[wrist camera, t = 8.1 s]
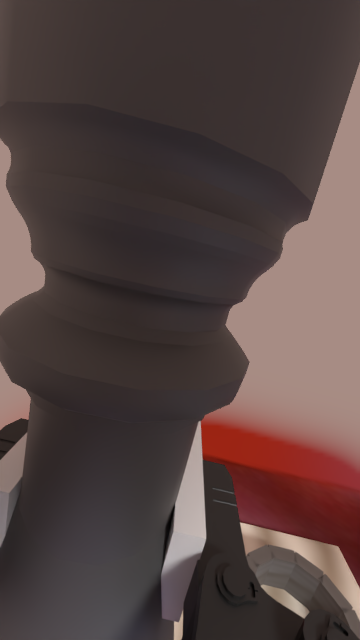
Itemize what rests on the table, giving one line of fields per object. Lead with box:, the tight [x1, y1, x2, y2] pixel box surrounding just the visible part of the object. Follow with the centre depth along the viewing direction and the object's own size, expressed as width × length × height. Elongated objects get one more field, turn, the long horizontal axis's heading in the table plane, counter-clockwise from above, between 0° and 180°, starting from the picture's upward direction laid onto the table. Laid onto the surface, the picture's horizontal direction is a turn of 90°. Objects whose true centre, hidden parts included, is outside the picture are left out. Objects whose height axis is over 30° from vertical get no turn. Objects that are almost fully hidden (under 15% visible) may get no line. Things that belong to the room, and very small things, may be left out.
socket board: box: [174, 522, 360, 640], centre depth 22 cm, size 20×20×5 cm
